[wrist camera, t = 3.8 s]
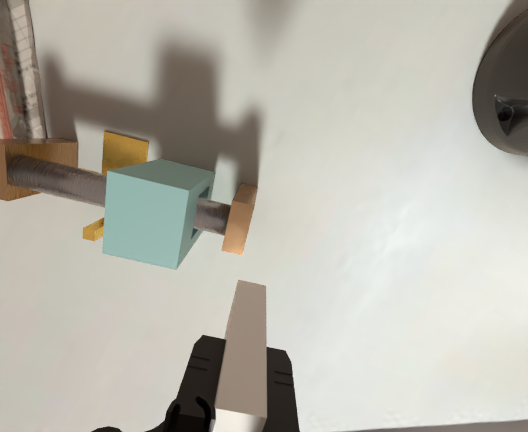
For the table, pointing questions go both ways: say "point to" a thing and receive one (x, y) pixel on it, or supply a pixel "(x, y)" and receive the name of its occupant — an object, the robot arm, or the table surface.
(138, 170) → the collar
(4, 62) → the packaged product
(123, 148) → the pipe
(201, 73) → the table surface
